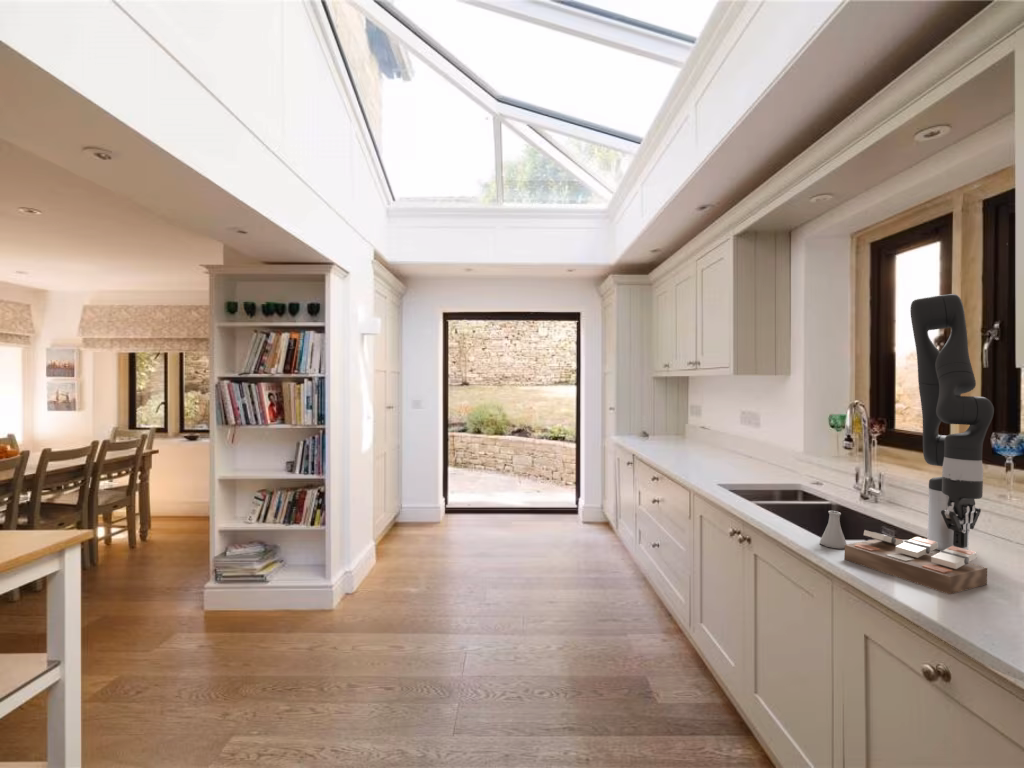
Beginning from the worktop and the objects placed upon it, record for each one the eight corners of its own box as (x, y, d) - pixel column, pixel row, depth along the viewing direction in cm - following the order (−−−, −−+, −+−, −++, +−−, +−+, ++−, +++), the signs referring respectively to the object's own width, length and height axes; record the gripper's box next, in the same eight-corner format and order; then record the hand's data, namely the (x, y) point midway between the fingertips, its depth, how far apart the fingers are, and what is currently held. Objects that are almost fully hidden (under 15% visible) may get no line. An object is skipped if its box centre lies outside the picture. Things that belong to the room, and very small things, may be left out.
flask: (852, 550, 145) (853, 516, 145) (825, 548, 147) (826, 514, 147) (841, 542, 153) (842, 509, 152) (815, 540, 154) (816, 508, 154)
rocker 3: (951, 552, 128) (951, 545, 128) (977, 558, 123) (976, 551, 123) (931, 562, 124) (930, 555, 124) (956, 570, 119) (956, 562, 119)
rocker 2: (915, 542, 135) (915, 535, 135) (938, 548, 130) (938, 541, 130) (895, 552, 131) (894, 545, 131) (918, 558, 127) (917, 551, 127)
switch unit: (880, 552, 144) (881, 537, 144) (986, 584, 122) (987, 566, 122) (844, 559, 138) (844, 543, 138) (949, 594, 116) (950, 575, 116)
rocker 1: (882, 540, 142) (883, 534, 142) (902, 546, 137) (904, 540, 138) (862, 535, 139) (864, 529, 139) (883, 541, 134) (884, 534, 134)
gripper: (958, 472, 131) (956, 539, 131) (928, 475, 125) (926, 545, 126) (995, 478, 124) (993, 548, 124) (965, 481, 119) (963, 554, 119)
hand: (960, 546), depth 125 cm, fingers closed
